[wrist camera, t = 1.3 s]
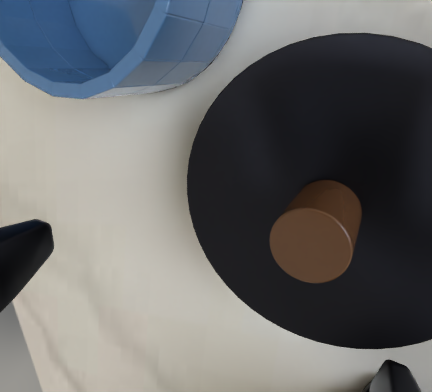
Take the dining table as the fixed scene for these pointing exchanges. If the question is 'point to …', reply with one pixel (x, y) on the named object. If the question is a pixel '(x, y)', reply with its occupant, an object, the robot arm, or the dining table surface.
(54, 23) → the pot
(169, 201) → the dining table surface
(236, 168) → the lid
